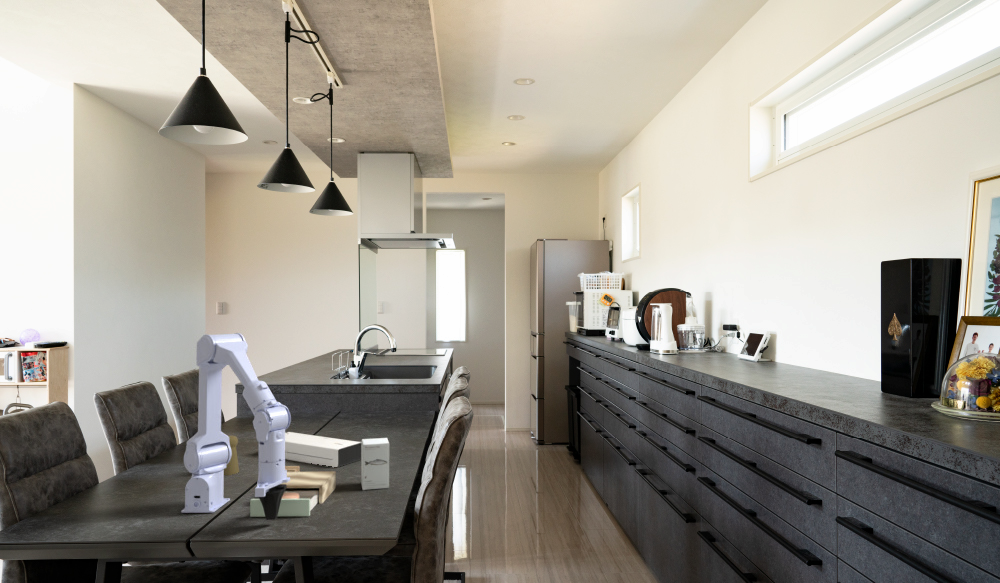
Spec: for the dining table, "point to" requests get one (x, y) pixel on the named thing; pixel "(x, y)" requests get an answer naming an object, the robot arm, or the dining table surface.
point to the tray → (289, 505)
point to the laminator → (321, 450)
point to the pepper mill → (232, 458)
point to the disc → (290, 496)
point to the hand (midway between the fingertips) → (271, 518)
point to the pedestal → (292, 468)
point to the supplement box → (374, 463)
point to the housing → (313, 482)
